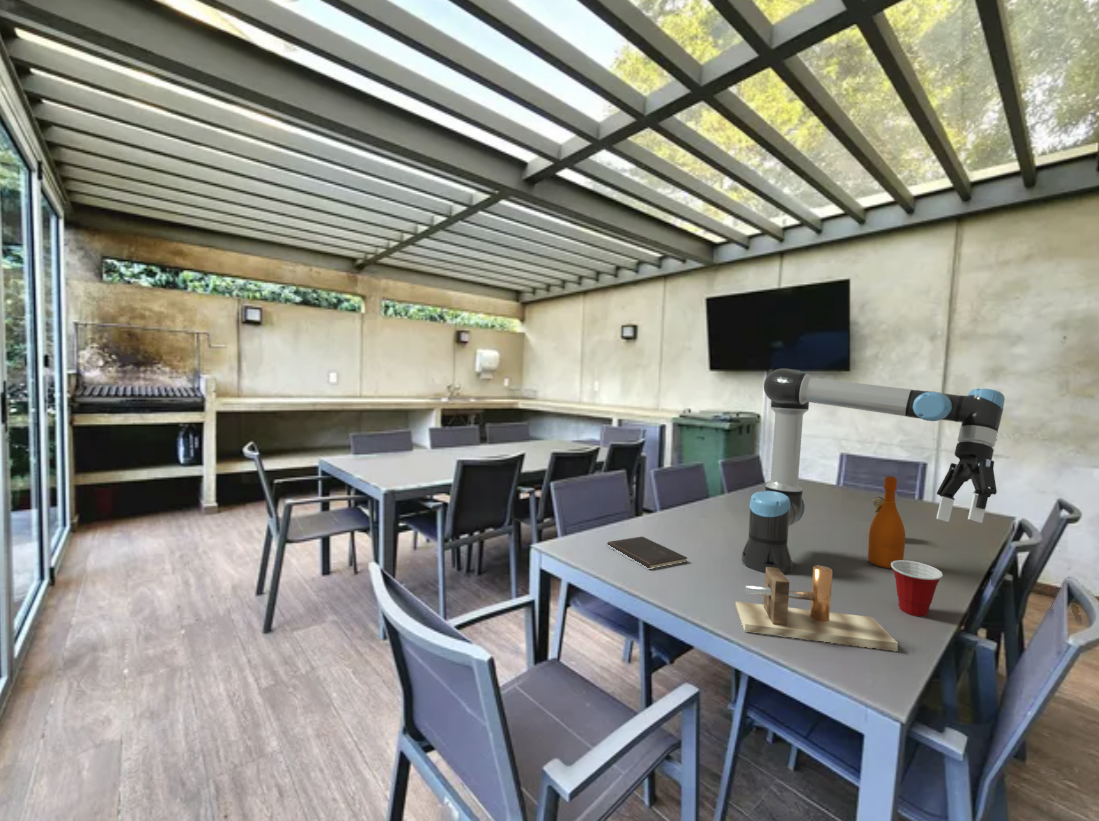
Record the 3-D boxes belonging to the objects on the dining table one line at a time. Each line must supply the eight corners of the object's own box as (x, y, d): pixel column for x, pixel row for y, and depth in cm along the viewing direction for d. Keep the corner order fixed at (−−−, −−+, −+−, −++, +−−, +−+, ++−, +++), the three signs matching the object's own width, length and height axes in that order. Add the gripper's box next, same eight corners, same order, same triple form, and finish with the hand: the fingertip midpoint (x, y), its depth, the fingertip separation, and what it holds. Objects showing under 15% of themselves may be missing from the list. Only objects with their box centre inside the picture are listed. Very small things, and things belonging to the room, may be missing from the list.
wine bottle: (888, 559, 163) (894, 474, 162) (910, 570, 153) (917, 479, 152) (860, 558, 163) (866, 473, 161) (881, 570, 153) (888, 479, 151)
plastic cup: (883, 610, 124) (886, 566, 123) (891, 598, 132) (894, 556, 131) (936, 626, 116) (940, 579, 116) (941, 613, 124) (945, 568, 123)
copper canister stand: (744, 632, 111) (747, 580, 110) (735, 608, 122) (737, 561, 122) (897, 651, 104) (901, 596, 104) (871, 625, 116) (875, 575, 115)
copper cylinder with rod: (746, 612, 114) (749, 564, 114) (742, 605, 118) (745, 558, 117) (831, 622, 110) (835, 572, 110) (825, 614, 114) (828, 566, 114)
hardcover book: (642, 542, 174) (642, 536, 174) (687, 564, 154) (687, 557, 154) (606, 548, 167) (606, 541, 167) (648, 572, 147) (649, 564, 146)
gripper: (1027, 442, 114) (1009, 527, 111) (961, 455, 137) (945, 525, 134) (991, 433, 116) (972, 515, 113) (932, 447, 139) (916, 515, 136)
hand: (957, 520), depth 124 cm, fingers open, 13 cm apart
